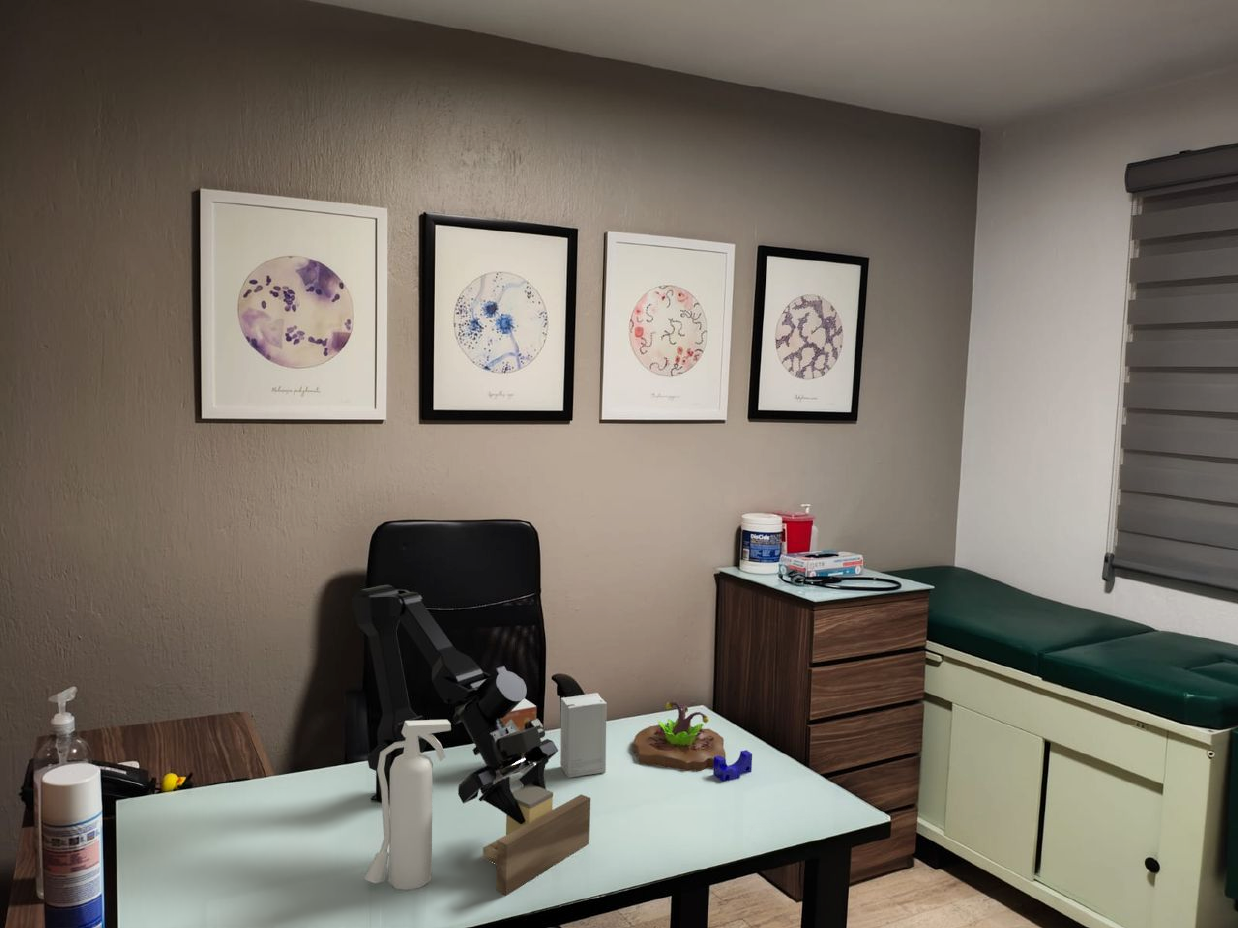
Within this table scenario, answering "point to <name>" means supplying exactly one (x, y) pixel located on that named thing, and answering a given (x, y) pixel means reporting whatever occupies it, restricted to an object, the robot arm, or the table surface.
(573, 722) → the skincare box
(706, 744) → the plant
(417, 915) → the table surface
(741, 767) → the cable holder
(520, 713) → the small box
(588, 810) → the wall board
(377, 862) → the fire extinguisher
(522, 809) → the grey-topped square block
